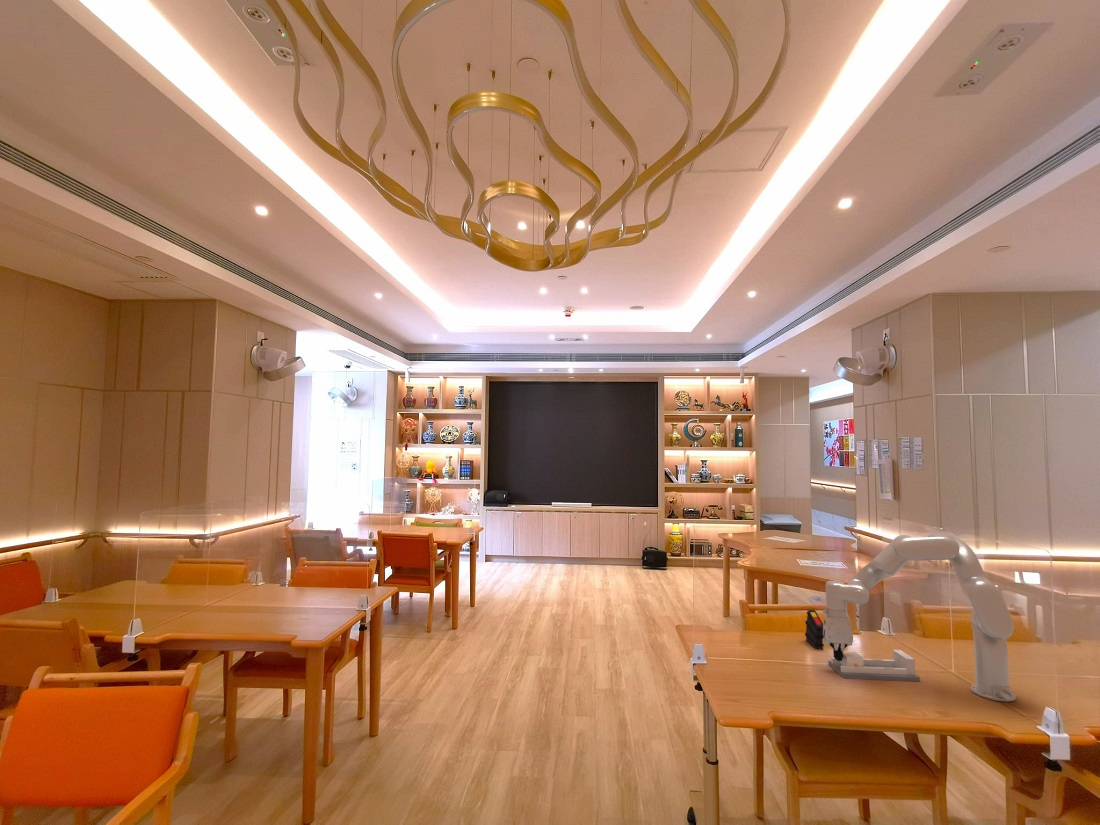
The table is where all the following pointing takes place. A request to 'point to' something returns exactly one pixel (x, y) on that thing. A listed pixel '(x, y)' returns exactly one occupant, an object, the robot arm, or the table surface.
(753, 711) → the table surface
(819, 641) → the black ridged block
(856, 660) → the block
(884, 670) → the board
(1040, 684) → the table surface
